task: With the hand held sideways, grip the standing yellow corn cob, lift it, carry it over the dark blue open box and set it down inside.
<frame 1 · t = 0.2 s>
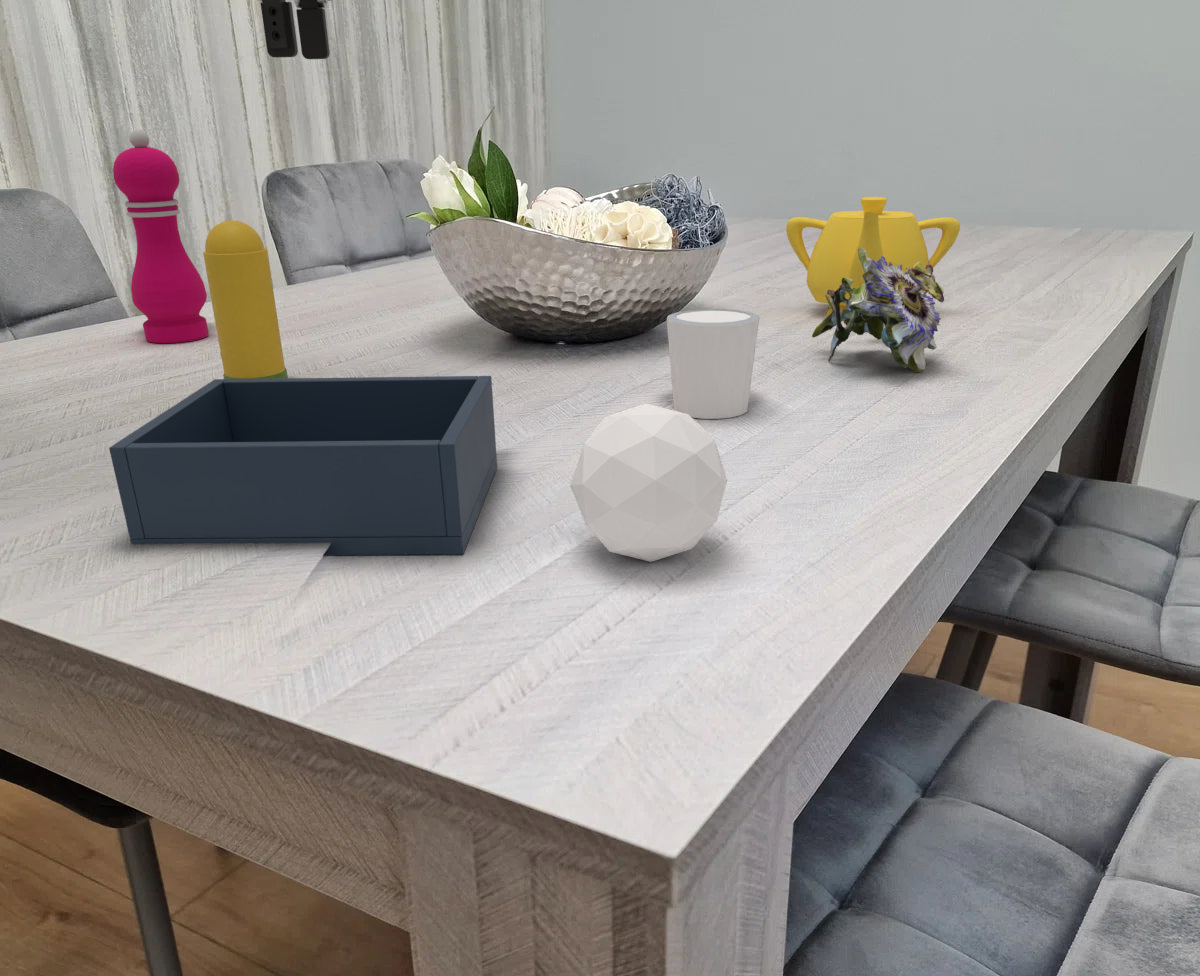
hand: (300, 58, 85), 25 cm above the table, tool pointing down, fingers open, 8 cm apart
dark blue open box: (334, 507, 61), on the table
passion flower: (871, 367, 92), on the table
geometric ball: (648, 554, 54), on the table
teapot: (863, 316, 113), on the table
pepper mill: (178, 339, 110), on the table
shot glass: (710, 411, 80), on the table
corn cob: (258, 395, 86), on the table
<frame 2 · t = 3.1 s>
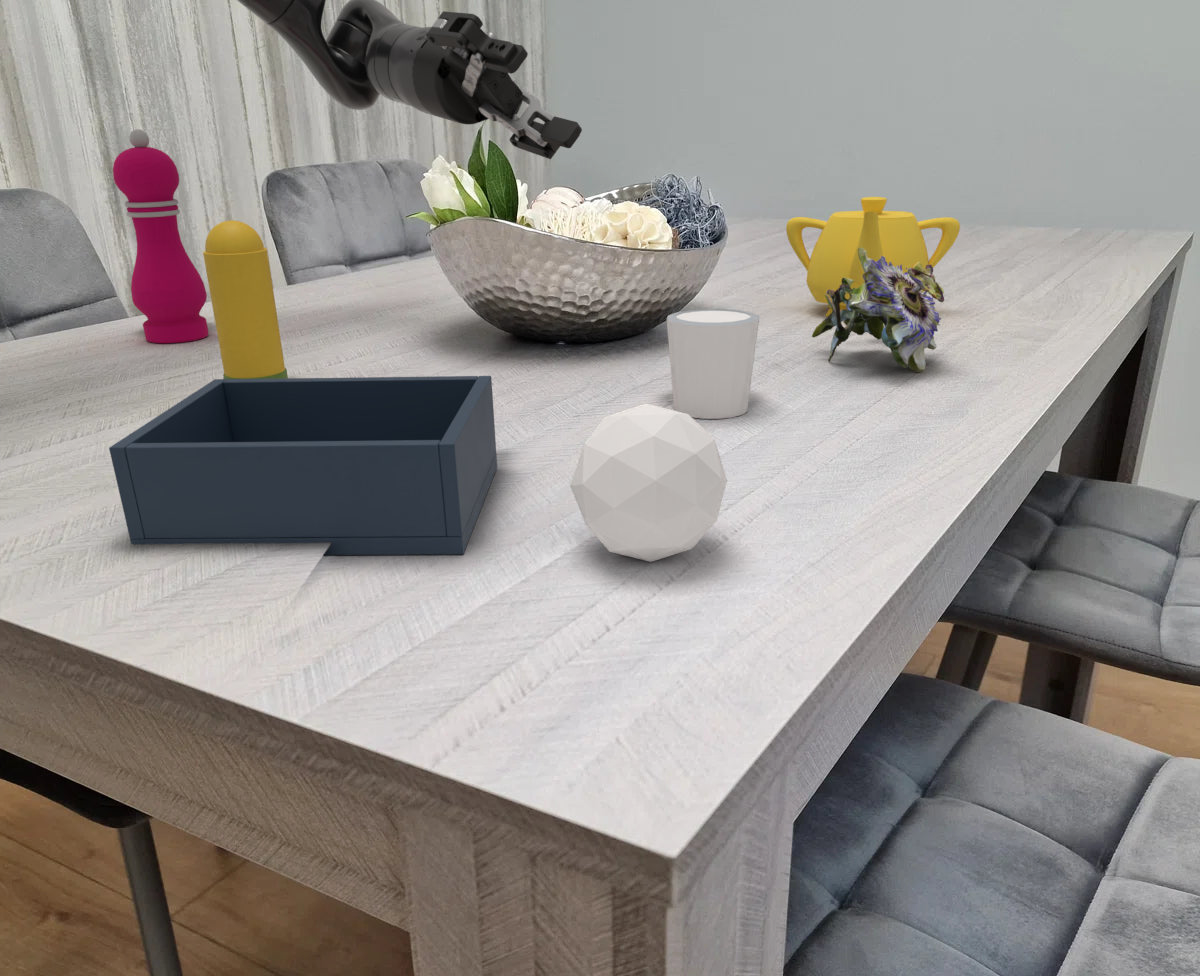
hand: (547, 99, 88), 22 cm above the table, tool horizontal, fingers open, 8 cm apart
nothing on the table moved.
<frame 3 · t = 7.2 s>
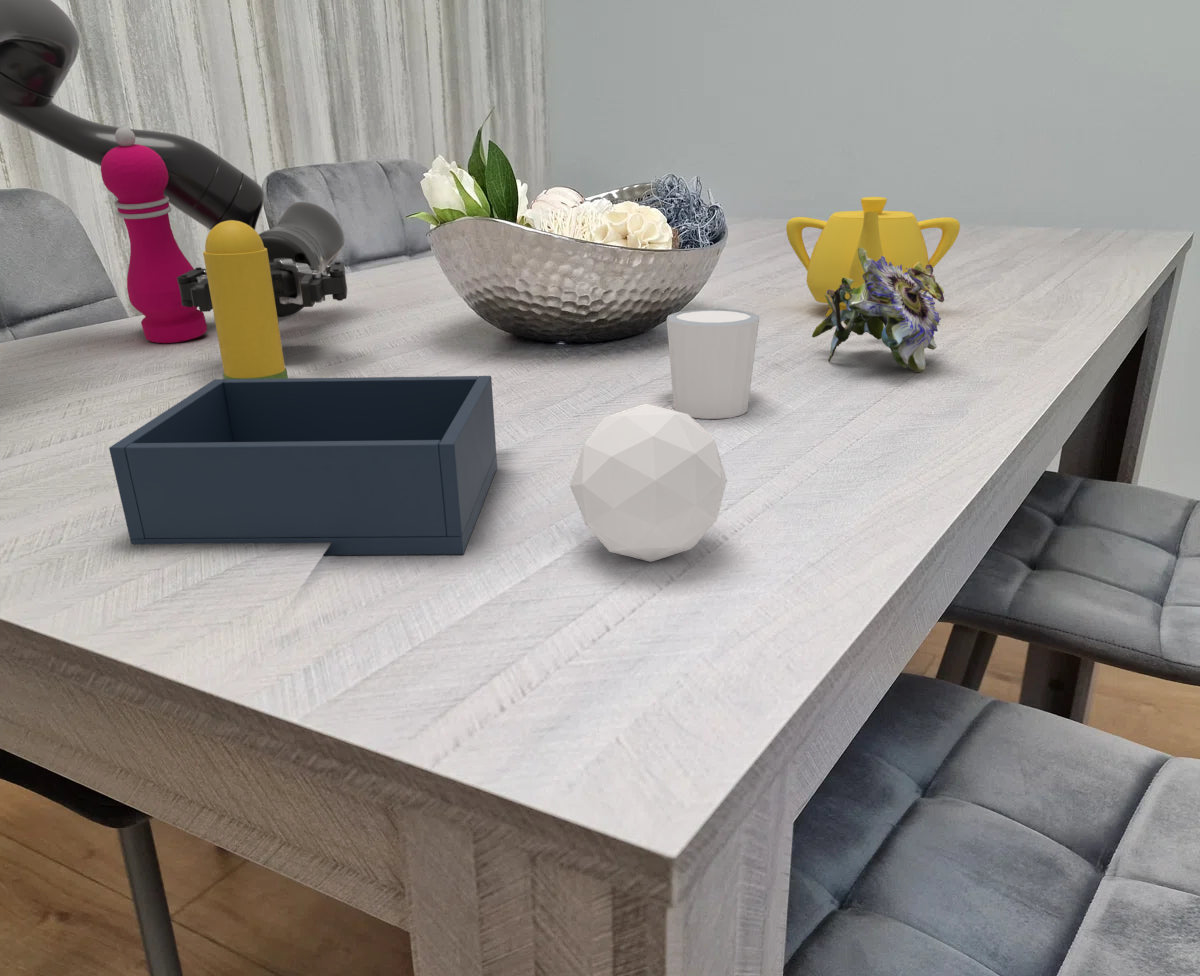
hand: (253, 296, 88), 7 cm above the table, tool horizontal, fingers open, 8 cm apart
pepper mill: (177, 335, 109), on the table, touching arm
everything else where it was.
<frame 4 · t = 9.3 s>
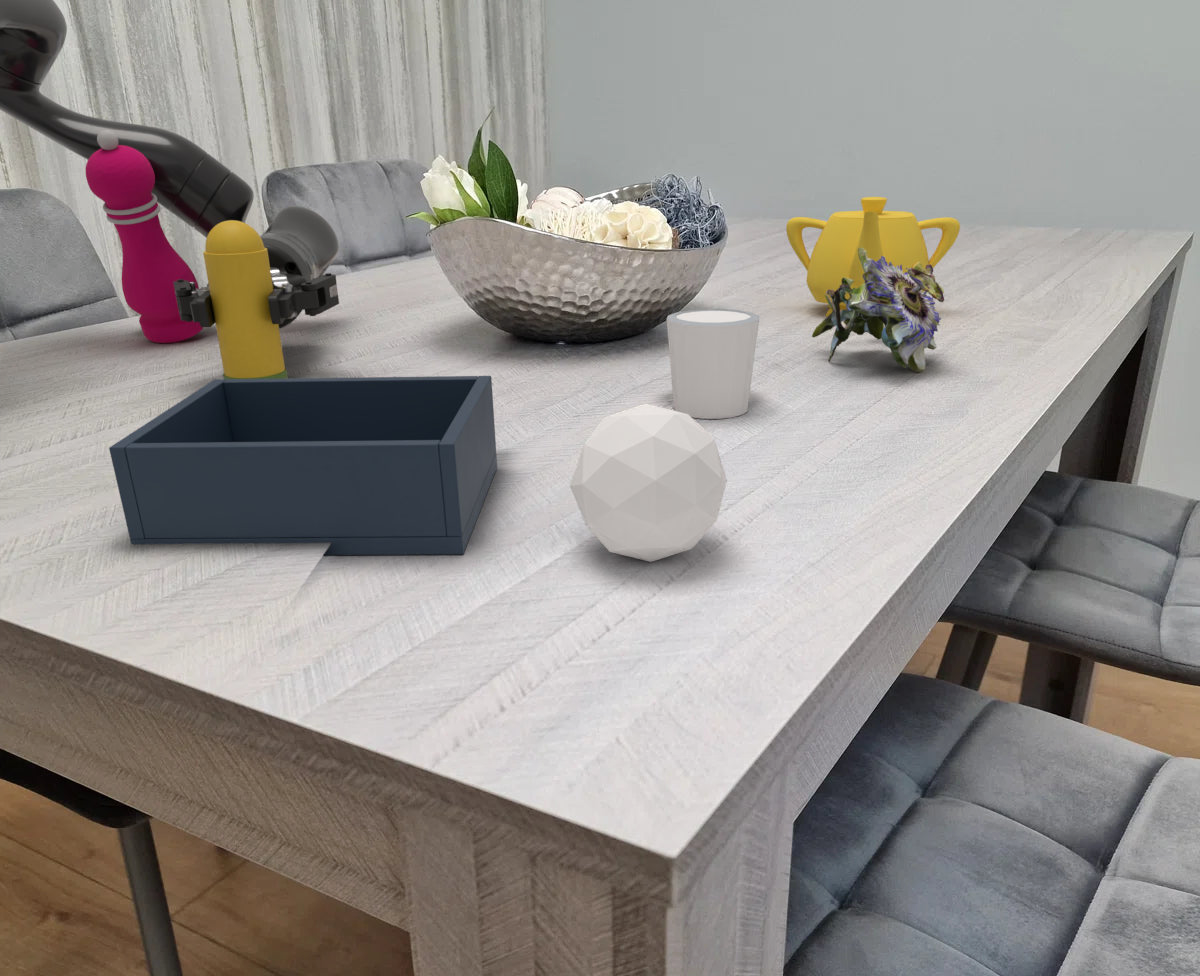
hand: (238, 312, 81), 7 cm above the table, tool horizontal, fingers closed on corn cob, 4 cm apart
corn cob: (258, 395, 86), on the table, touching gripper
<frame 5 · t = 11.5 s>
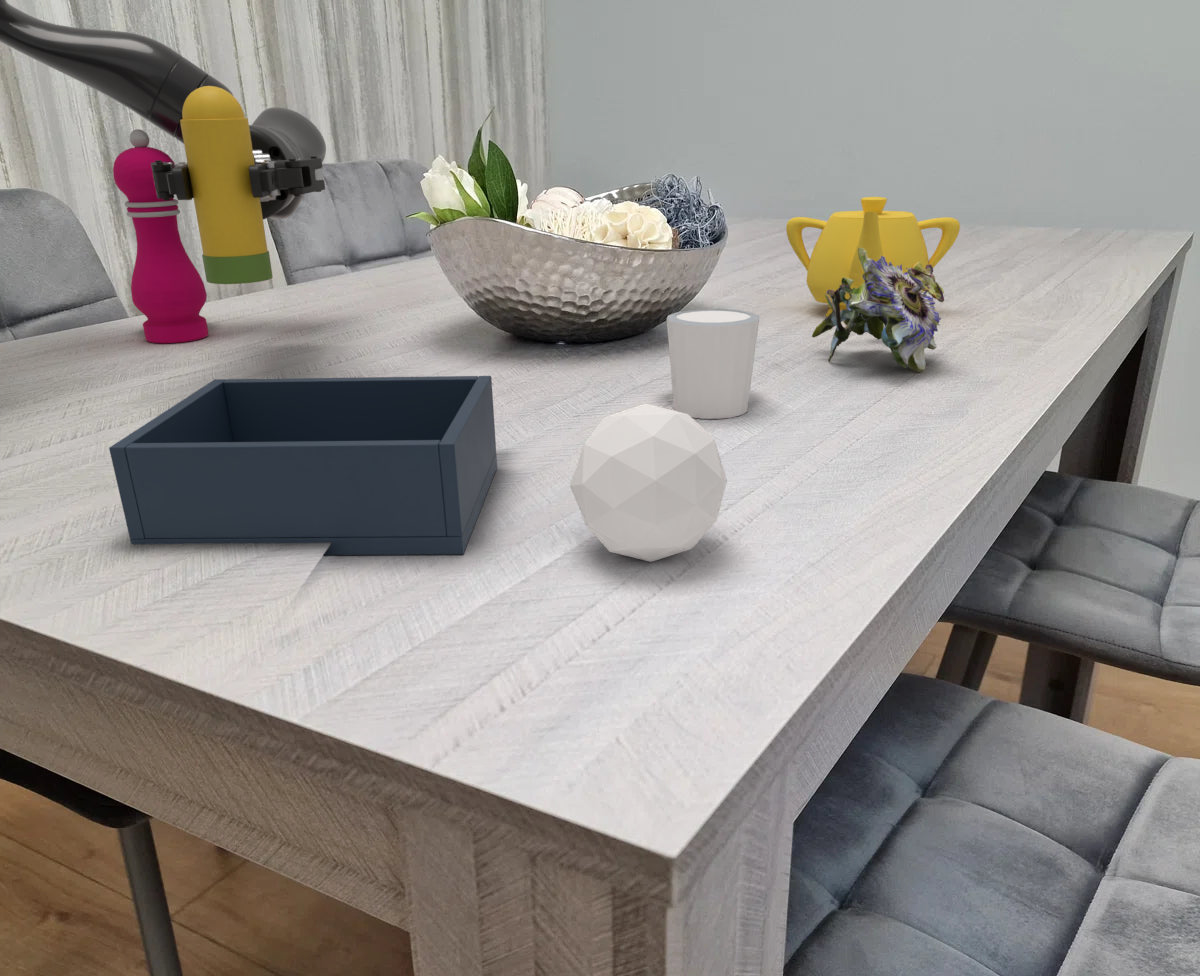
hand: (217, 183, 77), 17 cm above the table, tool horizontal, fingers closed on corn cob, 4 cm apart
pepper mill: (178, 339, 110), on the table
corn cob: (240, 279, 82), point 9 cm above the table, touching gripper
everything else where it was.
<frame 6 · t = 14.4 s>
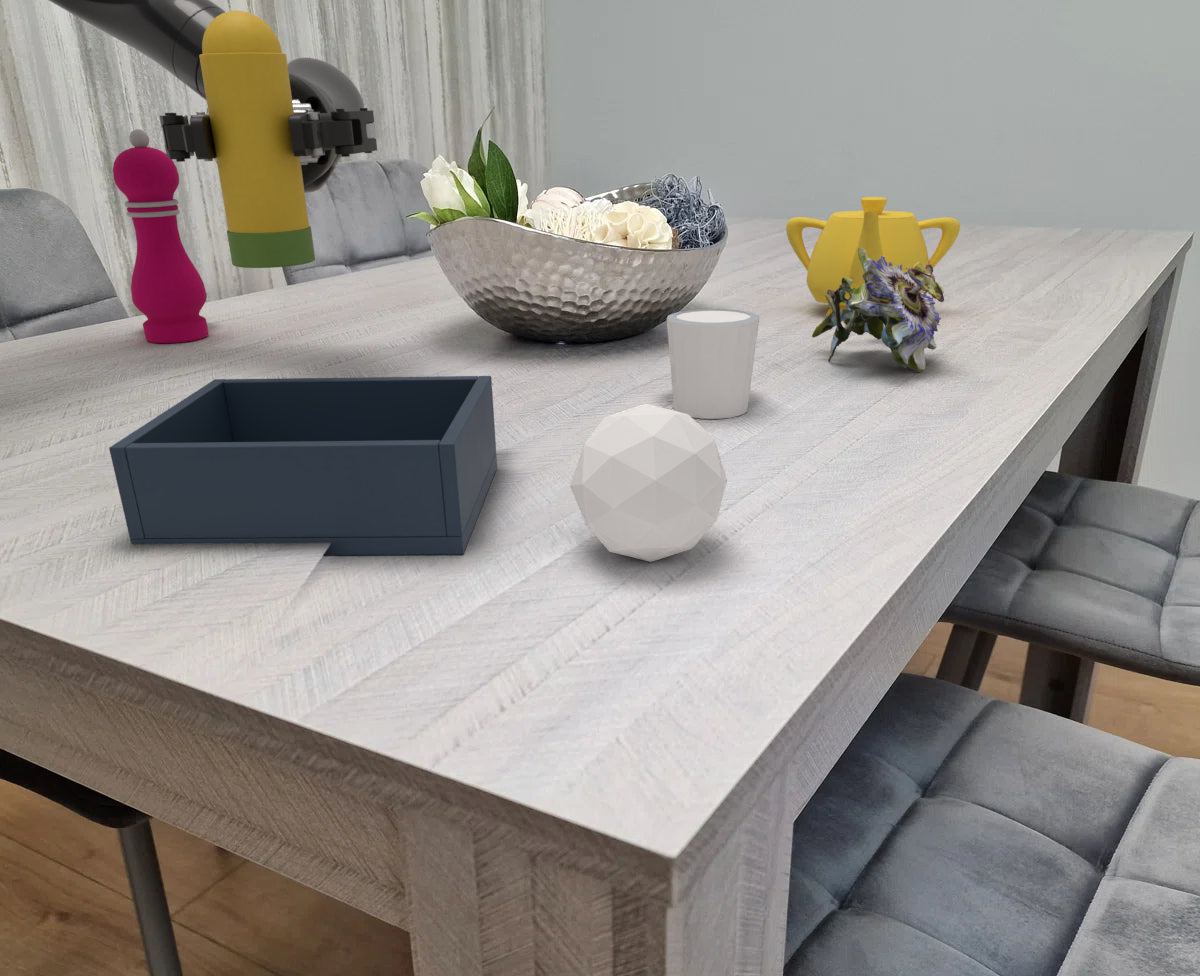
hand: (247, 137, 59), 20 cm above the table, tool horizontal, fingers closed on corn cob, 5 cm apart
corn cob: (274, 262, 65), point 13 cm above the table, touching gripper
everything else where it was.
when the fingers open (8 cm above the table, at t = 19.5 s): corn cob stays where it is, resting on dark blue open box.
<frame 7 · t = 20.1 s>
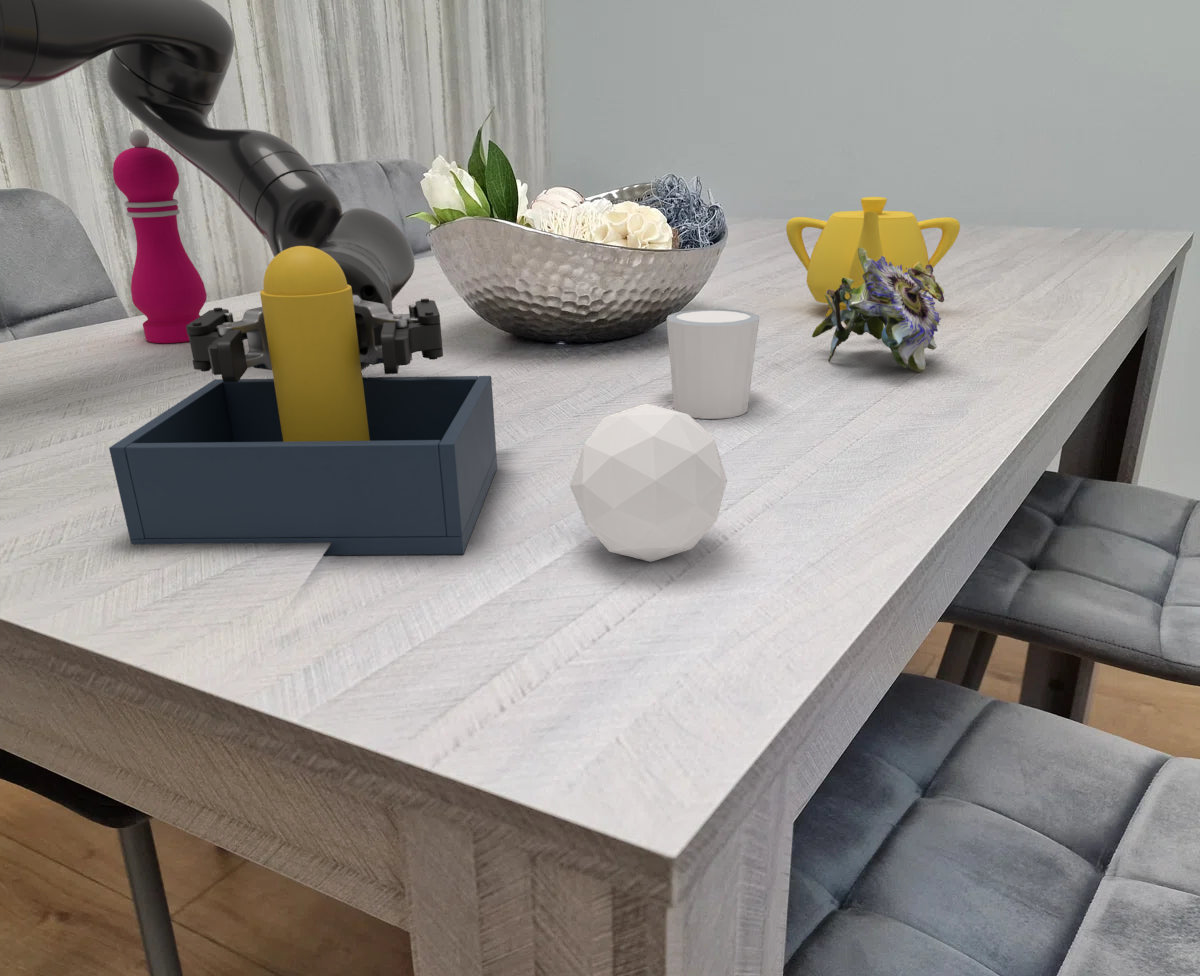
hand: (307, 359, 56), 9 cm above the table, tool horizontal, fingers open, 8 cm apart
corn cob: (333, 490, 61), point 1 cm above the table, touching dark blue open box
everything else where it was.
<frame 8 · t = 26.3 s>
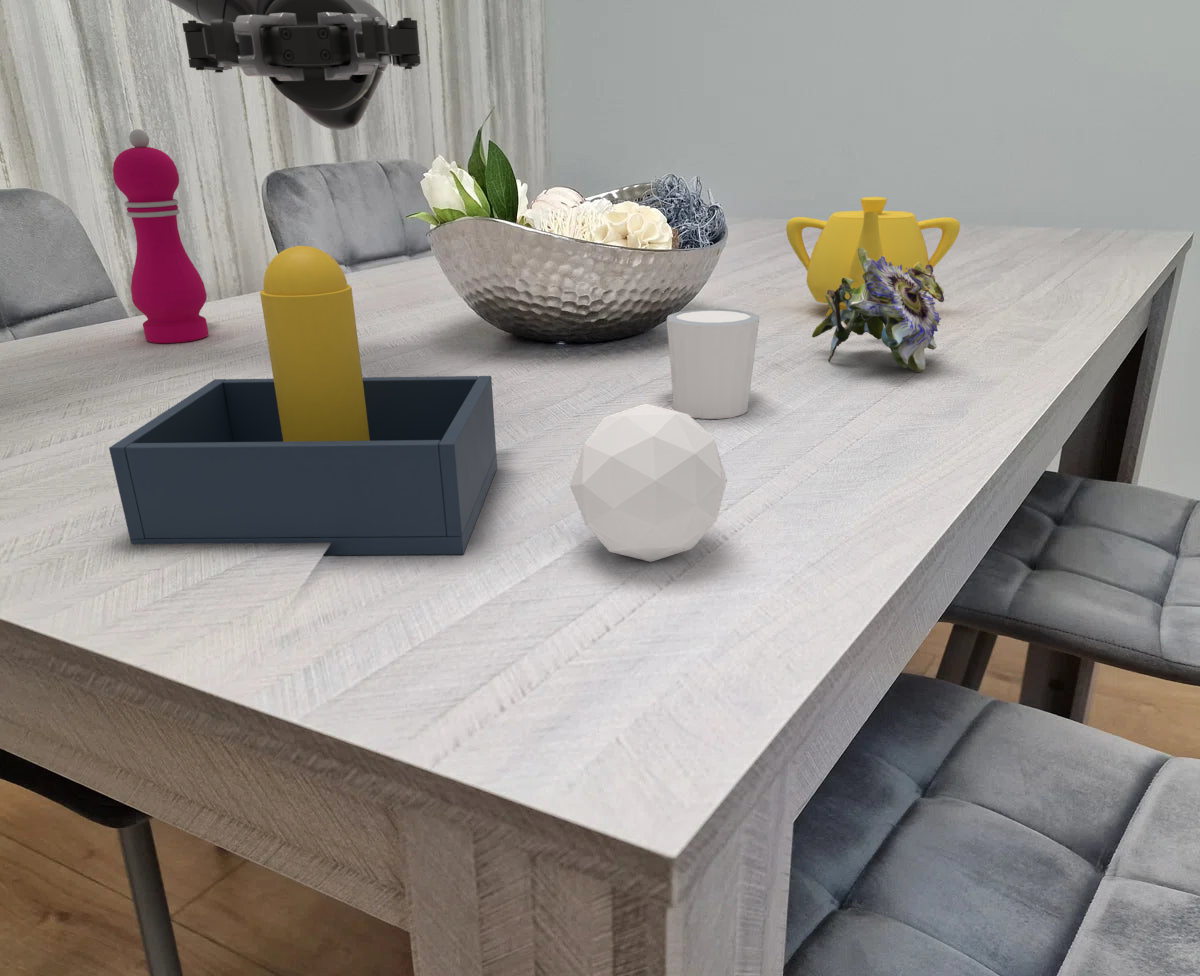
hand: (294, 39, 61), 25 cm above the table, tool horizontal, fingers open, 8 cm apart
nothing on the table moved.
at the end: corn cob inside the target area in the dark blue open box (0.1 cm from its centre), point 1.0 cm above the dark blue open box's base; the gripper is holding nothing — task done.
